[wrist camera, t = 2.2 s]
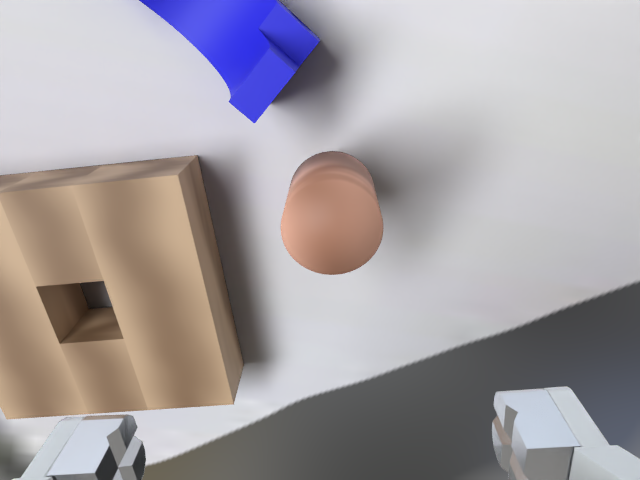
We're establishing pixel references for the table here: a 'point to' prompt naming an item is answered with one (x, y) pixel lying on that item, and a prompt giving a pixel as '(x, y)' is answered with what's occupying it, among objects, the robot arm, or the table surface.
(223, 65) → the cable clip
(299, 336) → the table surface
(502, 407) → the robot arm
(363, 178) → the peg
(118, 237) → the board
